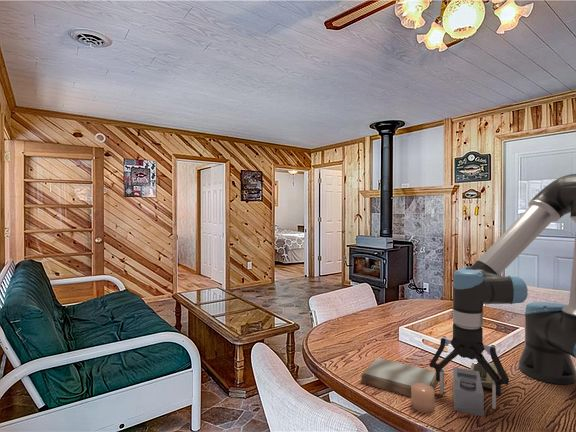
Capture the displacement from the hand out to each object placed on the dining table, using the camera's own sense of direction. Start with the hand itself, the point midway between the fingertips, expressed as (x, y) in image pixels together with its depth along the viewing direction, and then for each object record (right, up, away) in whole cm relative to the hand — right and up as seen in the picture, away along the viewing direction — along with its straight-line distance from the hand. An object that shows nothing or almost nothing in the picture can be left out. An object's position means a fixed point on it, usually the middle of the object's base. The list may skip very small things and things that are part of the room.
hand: (467, 399), depth 99 cm
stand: (-16, 0, +10) cm, 19 cm away
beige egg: (-14, 0, -3) cm, 14 cm away
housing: (0, 0, 0) cm, 0 cm away
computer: (+11, 0, +12) cm, 16 cm away
